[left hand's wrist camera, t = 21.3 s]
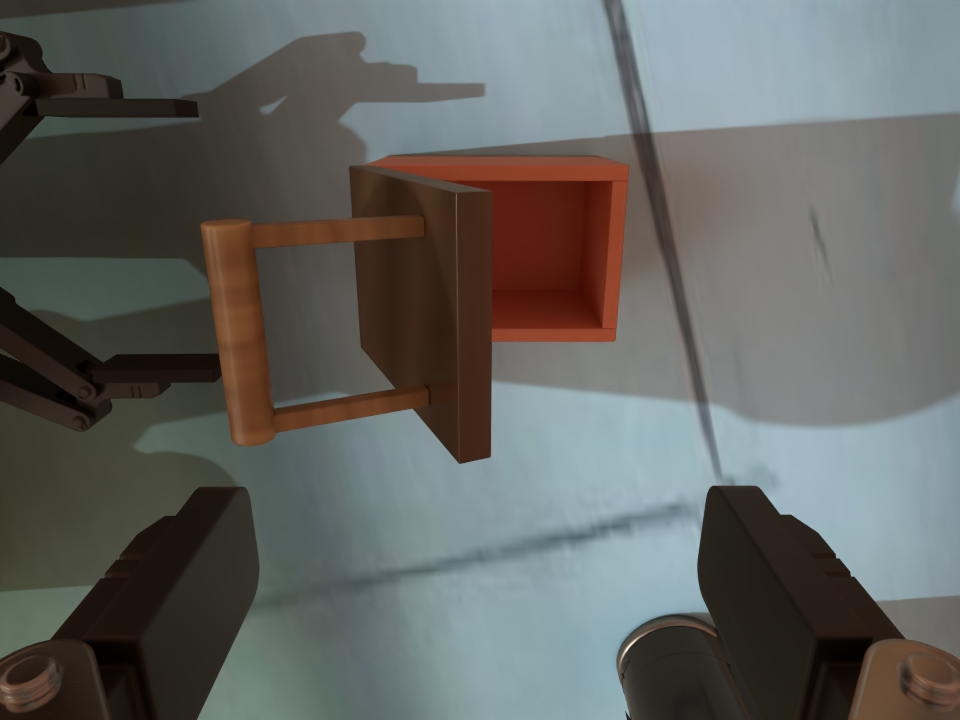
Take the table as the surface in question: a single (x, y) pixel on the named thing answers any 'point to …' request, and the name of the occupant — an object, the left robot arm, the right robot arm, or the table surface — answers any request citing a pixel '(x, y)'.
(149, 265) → the table surface
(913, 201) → the table surface
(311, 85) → the table surface
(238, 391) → the lid
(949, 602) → the table surface
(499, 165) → the chest
